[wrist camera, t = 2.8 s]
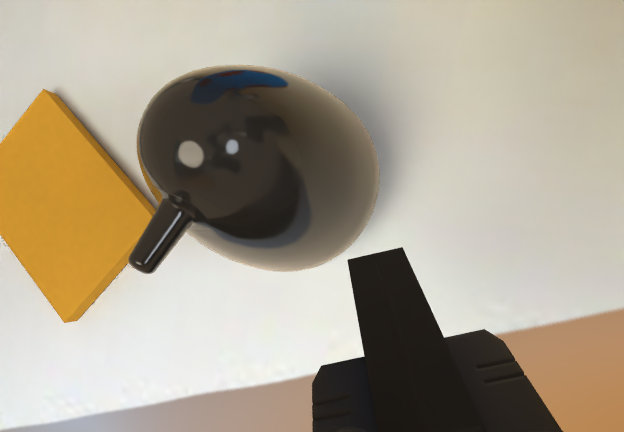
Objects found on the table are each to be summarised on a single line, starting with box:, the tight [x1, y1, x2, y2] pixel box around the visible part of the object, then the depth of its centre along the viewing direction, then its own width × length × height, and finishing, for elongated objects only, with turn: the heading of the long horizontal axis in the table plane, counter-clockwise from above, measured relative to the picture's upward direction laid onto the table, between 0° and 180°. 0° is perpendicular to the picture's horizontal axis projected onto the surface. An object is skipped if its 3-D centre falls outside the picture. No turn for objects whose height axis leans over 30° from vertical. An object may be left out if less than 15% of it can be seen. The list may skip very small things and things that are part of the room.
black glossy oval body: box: [128, 65, 379, 274], centre depth 24 cm, size 10×10×15 cm
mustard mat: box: [0, 89, 156, 323], centre depth 36 cm, size 14×10×1 cm
